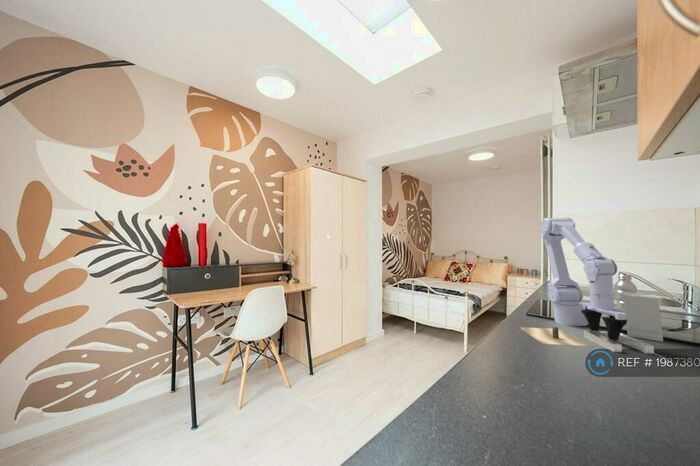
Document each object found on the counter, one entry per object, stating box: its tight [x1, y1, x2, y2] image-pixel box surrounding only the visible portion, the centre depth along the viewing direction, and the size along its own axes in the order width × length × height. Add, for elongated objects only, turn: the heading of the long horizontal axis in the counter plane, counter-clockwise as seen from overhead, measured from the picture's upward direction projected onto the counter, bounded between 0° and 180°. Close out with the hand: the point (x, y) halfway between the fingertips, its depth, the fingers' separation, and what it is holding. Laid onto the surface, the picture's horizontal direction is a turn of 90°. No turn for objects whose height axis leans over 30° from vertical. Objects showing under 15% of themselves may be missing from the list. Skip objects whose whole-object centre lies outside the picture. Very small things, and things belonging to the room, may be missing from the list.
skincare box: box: [623, 293, 664, 342], centre depth 89 cm, size 8×6×15 cm
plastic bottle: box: [613, 273, 638, 319], centre depth 102 cm, size 6×7×20 cm
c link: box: [583, 329, 655, 355], centre depth 80 cm, size 10×12×3 cm
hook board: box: [519, 326, 593, 347], centre depth 88 cm, size 14×16×5 cm
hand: (603, 335), depth 85 cm, fingers open, 7 cm apart
